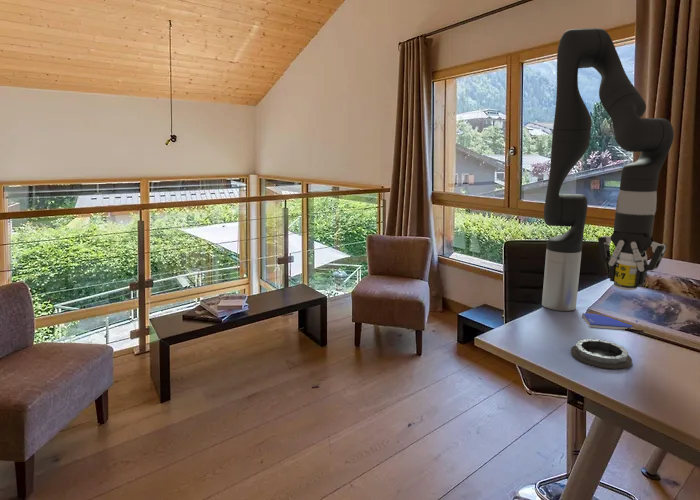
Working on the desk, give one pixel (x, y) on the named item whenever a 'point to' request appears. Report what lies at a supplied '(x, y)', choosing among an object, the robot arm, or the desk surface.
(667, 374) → the desk surface
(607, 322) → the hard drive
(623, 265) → the supplement bottle
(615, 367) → the grey flat ring
